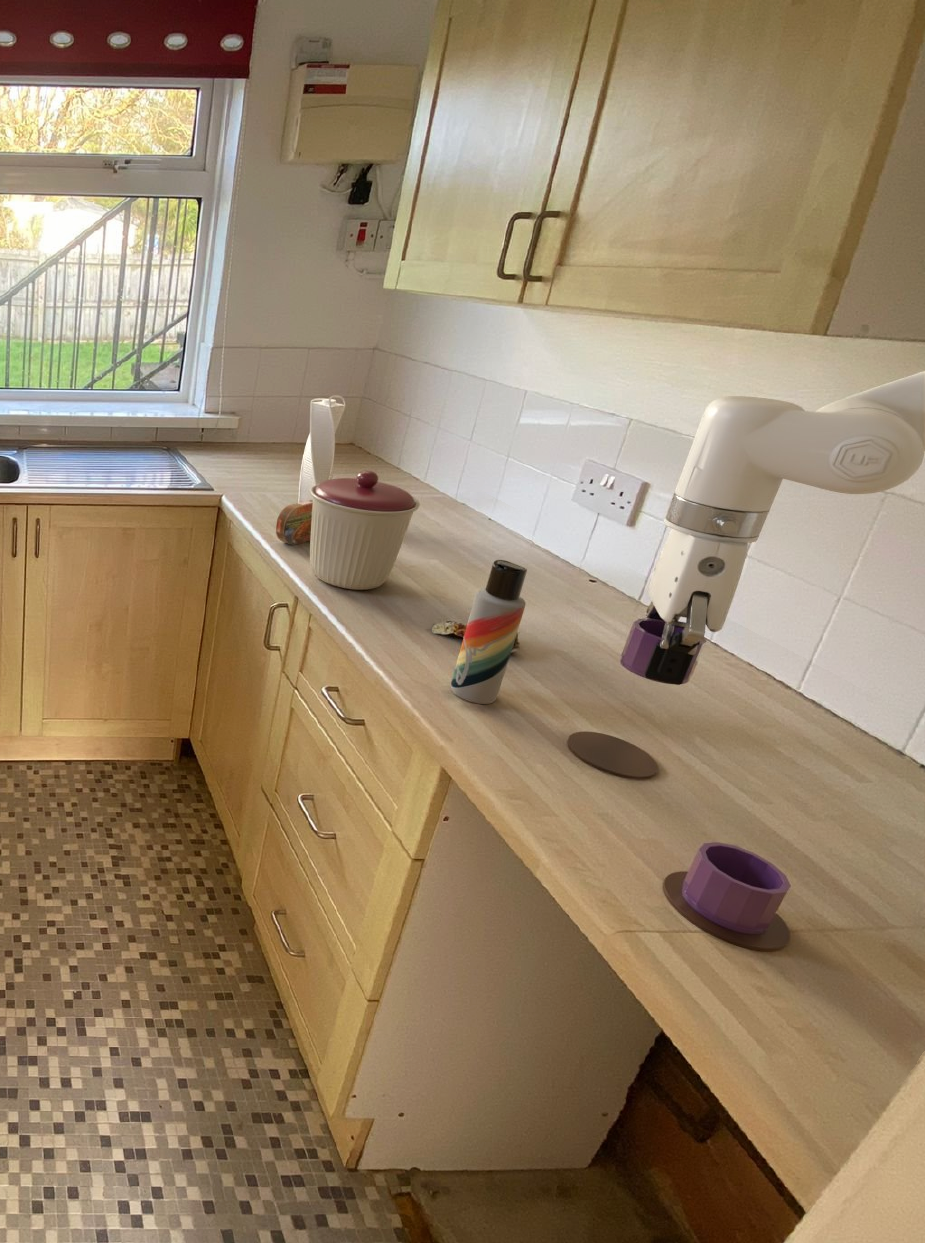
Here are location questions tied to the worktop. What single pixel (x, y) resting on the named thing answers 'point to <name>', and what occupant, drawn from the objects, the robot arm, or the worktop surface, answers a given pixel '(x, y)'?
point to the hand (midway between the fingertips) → (656, 664)
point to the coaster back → (612, 755)
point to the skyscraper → (320, 445)
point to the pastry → (460, 631)
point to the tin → (295, 523)
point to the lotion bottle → (490, 634)
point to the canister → (358, 530)
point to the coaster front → (766, 941)
